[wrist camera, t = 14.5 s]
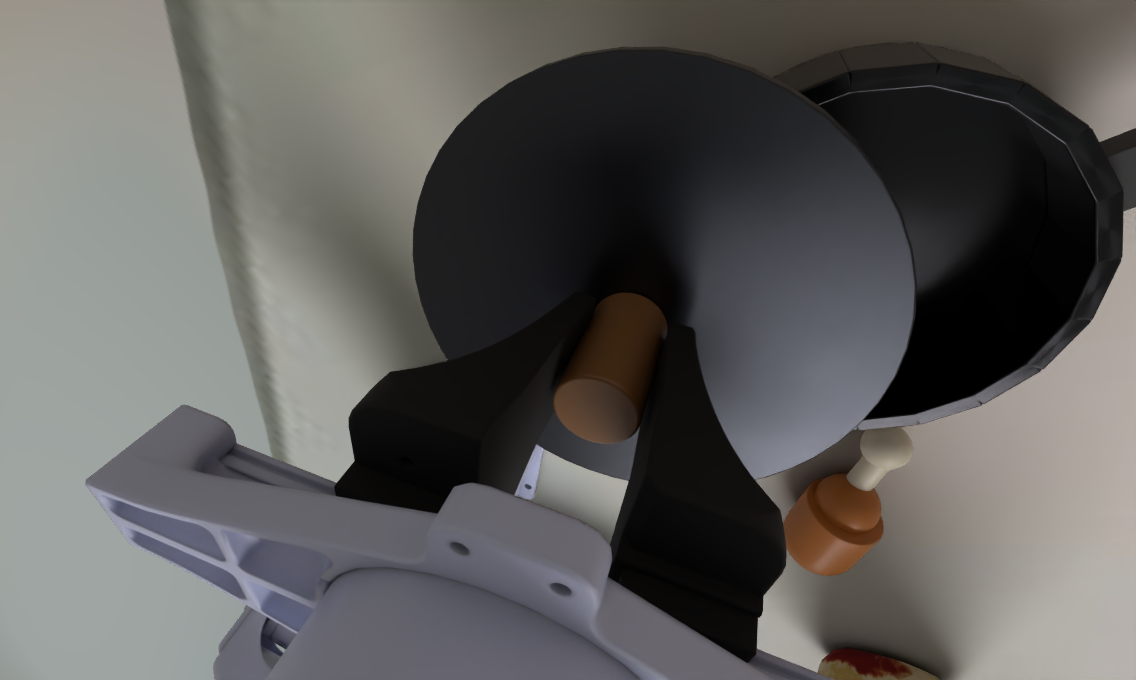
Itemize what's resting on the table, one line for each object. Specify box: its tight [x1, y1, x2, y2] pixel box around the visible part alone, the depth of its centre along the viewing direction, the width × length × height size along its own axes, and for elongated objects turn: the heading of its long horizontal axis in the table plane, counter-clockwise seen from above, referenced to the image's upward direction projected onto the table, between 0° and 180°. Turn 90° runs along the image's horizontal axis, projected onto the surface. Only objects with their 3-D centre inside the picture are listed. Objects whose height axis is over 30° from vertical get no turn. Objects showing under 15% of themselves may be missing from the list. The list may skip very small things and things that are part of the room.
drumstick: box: [783, 427, 913, 576], centre depth 26 cm, size 10×4×4 cm, turn 170°
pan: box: [774, 42, 1124, 430], centre depth 19 cm, size 13×13×4 cm
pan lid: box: [413, 47, 917, 481], centre depth 14 cm, size 14×14×5 cm
